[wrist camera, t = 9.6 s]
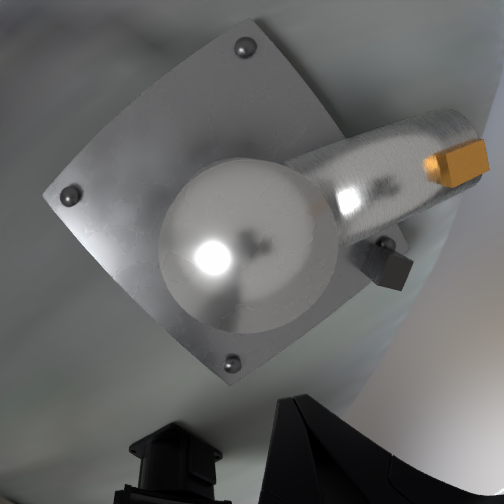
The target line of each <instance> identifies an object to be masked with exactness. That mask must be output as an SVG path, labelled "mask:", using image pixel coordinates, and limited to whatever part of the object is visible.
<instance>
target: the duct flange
mask: <svg viewBox="0 0 504 504" xmlns="http://www.w3.org/2000/svg"><path fill="white" fill-rule="evenodd" d="M344 139H346V138H345V136H344V135H343V134H342V132H341V131H340V129H339V128H338V126H337V125H336V123H335V122H334V120H333V119H332V118H331V116H330V115H329V113H328V112H327V111H326V109H325V108H324V107H323V105H322V104H321V102H320V101H319V100H318V98H317V97H316V96H315V94H314V93H313V92H312V90H311V89H310V88H309V86H308V85H307V84H306V83H305V81H304V80H303V79H302V77H301V76H300V75H299V74H298V72H297V71H296V70H295V69H294V67H293V66H292V65H291V64H290V63H289V61H288V60H287V59H286V58H285V56H284V55H283V54H282V53H281V52H280V51H279V49H278V48H277V47H276V46H275V45H274V44H273V42H272V41H271V40H270V39H269V38H268V37H267V36H266V34H265V33H264V32H263V31H262V30H261V29H260V28H259V27H258V26H257V25H256V23H255V22H254V21H253V20H252V19H251V18H248V19H246V20H245V21H243V22H241V23H240V24H238V25H236V26H235V27H233V28H231V29H230V30H228V31H227V32H225V33H224V34H222V35H220V36H219V37H217V38H216V39H214V40H213V41H211V42H210V43H208V44H207V45H205V46H204V47H202V48H201V49H199V50H198V51H197V52H195V53H194V54H192V55H191V56H189V57H188V58H187V59H185V60H184V61H183V62H181V63H180V64H179V65H177V66H176V67H174V68H173V69H172V70H171V71H169V72H168V73H167V74H165V75H164V76H163V77H162V78H160V79H159V80H158V81H157V82H155V83H154V84H153V85H152V86H150V87H149V88H148V89H147V90H146V91H144V92H143V93H142V94H141V95H140V96H138V97H137V98H136V99H135V100H134V101H133V102H131V103H130V104H129V105H128V106H127V107H126V108H125V109H124V110H122V111H121V112H120V113H119V114H118V115H117V116H116V117H115V118H114V119H113V120H112V121H111V122H109V123H108V124H107V125H106V126H105V127H104V128H103V129H102V130H101V131H100V132H99V133H98V134H97V135H96V136H95V137H94V138H93V139H92V140H91V141H90V142H89V143H88V144H87V145H86V146H85V147H84V148H83V149H82V150H81V151H80V152H79V154H78V155H77V156H76V157H75V158H74V159H73V160H72V161H71V162H70V163H69V164H68V165H67V167H66V168H65V169H64V170H63V171H62V172H61V173H60V174H59V176H58V177H57V178H56V179H55V180H54V181H53V183H52V184H51V185H50V186H49V187H48V189H47V190H46V191H45V192H44V193H43V195H42V196H43V197H44V198H45V200H46V201H47V202H48V204H49V205H50V206H51V207H52V209H53V210H54V211H55V212H56V214H57V215H58V216H59V217H60V218H61V220H62V221H63V222H64V223H65V224H66V226H67V227H68V228H69V229H70V230H71V232H72V233H73V234H74V235H75V236H76V237H77V239H78V240H79V241H80V242H81V243H82V244H83V246H84V247H85V248H86V249H87V250H88V251H89V252H90V253H91V255H92V256H93V257H94V258H95V259H96V260H97V261H98V262H99V263H100V264H101V266H102V267H103V268H104V269H105V270H106V271H107V272H108V273H109V274H110V275H111V276H112V277H113V278H114V279H115V281H116V282H117V283H118V284H119V285H120V286H121V287H122V288H123V289H124V290H125V291H126V292H127V293H128V294H129V295H130V296H131V297H132V298H133V299H134V300H135V301H136V302H137V303H138V304H139V305H140V306H141V307H142V308H143V309H144V310H145V311H146V312H147V313H148V314H149V315H150V316H151V317H152V318H153V319H154V320H155V321H156V322H158V323H159V324H160V325H161V326H162V327H163V328H164V329H165V330H166V331H167V332H168V333H169V334H170V335H171V336H172V337H174V338H175V339H176V340H177V341H178V342H179V343H180V344H181V345H182V346H183V347H185V348H186V349H187V350H188V351H189V352H190V353H191V354H192V355H194V356H195V357H196V358H197V359H198V360H199V361H201V362H202V363H203V364H204V365H205V366H206V367H207V368H209V369H210V370H211V371H212V372H213V373H215V374H216V375H217V376H218V377H219V378H221V379H222V380H223V381H224V382H225V383H227V384H228V385H229V386H230V385H232V384H234V383H235V382H237V381H238V380H240V379H241V378H243V377H244V376H246V375H247V374H249V373H250V372H252V371H253V370H255V369H256V368H258V367H259V366H261V365H262V364H263V363H265V362H266V361H268V360H269V359H271V358H272V357H274V356H275V355H276V354H278V353H279V352H281V351H282V350H283V349H285V348H286V347H288V346H289V345H290V344H292V343H293V342H295V341H296V340H297V339H299V338H300V337H301V336H303V335H304V334H305V333H307V332H308V331H309V330H311V329H312V328H313V327H315V326H316V325H317V324H319V323H320V322H321V321H323V320H324V319H325V318H327V317H328V316H329V315H330V314H332V313H333V312H334V311H336V310H337V309H338V308H339V307H341V306H342V305H343V304H344V303H346V302H347V301H348V300H349V299H351V298H352V297H353V296H354V295H356V294H357V293H358V292H359V291H360V290H362V289H363V288H364V287H365V286H367V285H368V284H369V283H370V282H371V281H373V282H374V283H375V284H376V285H378V286H382V287H386V288H390V289H394V290H398V291H402V289H403V286H404V284H405V282H406V279H407V277H408V275H409V272H410V270H411V267H412V265H413V261H412V260H410V259H408V258H407V257H405V256H403V254H404V253H405V252H406V251H407V250H408V249H409V248H410V247H409V245H408V244H407V242H406V240H405V238H404V236H403V234H402V232H401V230H400V228H399V226H398V224H395V225H393V226H391V227H389V228H386V229H384V230H382V231H380V232H378V233H376V234H374V235H371V236H369V237H367V238H365V239H363V240H361V241H358V242H356V243H354V244H352V245H350V246H347V247H345V248H343V249H341V250H339V251H338V255H337V261H336V265H335V269H334V272H333V274H332V277H331V279H330V281H329V283H328V285H327V287H326V288H325V290H324V292H323V293H322V294H321V296H320V297H319V298H318V300H317V301H316V302H315V303H314V304H313V305H312V306H311V307H310V308H309V309H308V310H307V311H306V312H304V313H303V314H302V315H301V316H299V317H297V318H296V319H294V320H293V321H291V322H289V323H287V324H285V325H283V326H281V327H278V328H275V329H272V330H268V331H264V332H258V333H232V332H226V331H222V330H218V329H215V328H212V327H210V326H207V325H205V324H204V323H202V322H200V321H198V320H197V319H195V318H194V317H192V316H191V315H189V314H188V313H187V312H186V311H185V310H184V309H183V308H182V307H181V306H180V305H179V304H178V303H177V302H176V300H175V299H174V298H173V296H172V295H171V293H170V291H169V290H168V288H167V286H166V284H165V281H164V279H163V276H162V273H161V269H160V264H159V257H158V243H159V236H160V231H161V227H162V223H163V220H164V218H165V216H166V213H167V211H168V209H169V208H170V206H171V204H172V203H173V201H174V199H175V198H176V197H177V195H178V194H179V192H180V191H181V189H182V188H183V187H184V185H185V184H186V183H187V181H188V180H189V179H190V178H191V177H192V176H193V175H194V174H195V173H196V172H197V171H198V170H200V169H201V168H203V167H204V166H206V165H208V164H210V163H212V162H215V161H217V160H220V159H225V158H232V157H243V158H251V159H258V160H264V161H269V162H274V163H278V164H281V165H282V163H283V162H285V161H287V160H290V159H292V158H295V157H298V156H300V155H303V154H306V153H308V152H311V151H314V150H316V149H319V148H322V147H325V146H327V145H330V144H333V143H336V142H339V141H341V140H344Z"/></svg>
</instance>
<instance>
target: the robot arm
mask: <svg viewBox="0 0 504 504" xmlns="http://www.w3.org/2000/svg"><path fill="white" fill-rule="evenodd" d="M129 452H130V453H131V454H133V455H135V456H136V457H138V458H140V459H141V465H140V473H139V482H138V488H136V487H132V485H127V484H125V488H124V490H120V491H115V496H114V503H113V504H232V502H231V501H228V500H224V501H217V500H215V498H214V485H215V484H216V471H215V462H217V461H219V460H221V459H222V458H223V455H222V453H221V452H220V451H218V450H216V449H214V448H213V447H211V446H209V445H208V444H206V443H205V442H203V441H201V440H200V439H198V438H197V437H195V436H193V435H192V434H190V433H189V432H187V431H186V430H184V429H183V428H181V427H180V426H178V425H176V424H170V425H168V426H166V427H164V428H162V429H161V430H159V431H157V432H155V433H153V434H152V435H150V436H148V437H146V438H144V439H142V440H140V441H139V442H137V443H135V444H133V445H131V446H130V447H129ZM261 489H262V490H261V492H260V497H259V502H258V504H504V495H493V496H484V495H477V494H473V493H470V492H467V491H464V490H461V489H459V488H457V487H454V486H452V485H449V484H447V483H445V482H443V481H440V480H438V479H436V478H433V477H431V476H429V475H427V474H425V473H423V472H421V471H419V470H417V469H415V468H414V467H412V466H410V465H409V464H407V463H405V462H403V461H402V460H400V459H398V458H397V457H396V456H394V455H393V456H392V454H391V453H389V452H388V451H386V450H385V449H383V448H382V447H380V446H378V445H377V444H376V443H374V442H373V441H372V440H370V439H369V438H367V437H366V436H364V435H363V434H361V433H360V432H358V431H357V430H356V429H354V428H353V427H351V426H350V425H349V424H347V423H346V422H344V421H343V420H341V419H340V418H339V417H337V416H336V415H335V414H333V413H332V412H330V411H329V410H328V409H326V408H325V407H324V406H322V405H321V404H320V403H318V402H317V401H316V400H314V399H313V398H312V397H310V396H309V395H307V394H303V395H298V396H294V397H293V398H291V397H287V398H282V399H278V401H277V405H276V411H275V417H274V423H273V429H272V435H271V440H270V446H269V451H268V457H267V462H266V468H265V473H264V478H263V483H262V488H261Z"/></svg>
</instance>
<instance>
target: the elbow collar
mask: <svg viewBox="0 0 504 504" xmlns="http://www.w3.org/2000/svg"><path fill="white" fill-rule="evenodd" d="M487 171H489V163H488V158H487V153H486V148H485V143H484V139H479V137H478V135H477V133H476V131H475V130H474V128H473V127H472V125H471V124H470V123H469V122H468V120H467V119H466V118H465V117H464V116H462V115H461V114H460V113H458V112H456V111H454V110H452V109H447V108H443V109H439V110H435V111H432V112H428V113H425V114H422V115H418V116H415V117H412V118H408V119H405V120H402V121H399V122H395V123H392V124H389V125H386V126H383V127H380V128H377V129H374V130H371V131H368V132H365V133H362V134H359V135H356V136H353V137H350V138H347V139H344V140H341V141H339V142H336V143H333V144H330V145H327V146H325V147H322V148H319V149H316V150H314V151H311V152H308V153H306V154H303V155H300V156H298V157H295V158H292V159H290V160H287V161H285V162H283V163H282V165H281V164H278V163H274V162H269V161H264V160H258V159H251V158H243V157H232V158H225V159H220V160H217V161H215V162H212V163H210V164H208V165H206V166H204V167H203V168H201V169H200V170H198V171H197V172H196V173H195V174H194V175H193V176H192V177H191V178H190V179H189V180H188V181H187V183H186V184H185V185H184V187H183V188H182V189H181V191H180V192H179V194H178V195H177V197H176V198H175V199H174V201H173V203H172V204H171V206H170V208H169V209H168V211H167V213H166V216H165V218H164V220H163V223H162V227H161V231H160V236H159V243H158V257H159V264H160V269H161V273H162V276H163V279H164V281H165V284H166V286H167V288H168V290H169V291H170V293H171V295H172V296H173V298H174V299H175V300H176V302H177V303H178V304H179V305H180V306H181V307H182V308H183V309H184V310H185V311H186V312H187V313H188V314H189V315H191V316H192V317H194V318H195V319H197V320H198V321H200V322H202V323H204V324H205V325H207V326H210V327H212V328H215V329H218V330H222V331H226V332H232V333H258V332H264V331H268V330H272V329H275V328H278V327H281V326H283V325H285V324H287V323H289V322H291V321H293V320H294V319H296V318H297V317H299V316H301V315H302V314H303V313H304V312H306V311H307V310H308V309H309V308H310V307H311V306H312V305H313V304H314V303H315V302H316V301H317V300H318V298H319V297H320V296H321V294H322V293H323V292H324V290H325V288H326V287H327V285H328V283H329V281H330V279H331V277H332V274H333V272H334V269H335V265H336V261H337V255H338V251H339V250H341V249H343V248H345V247H347V246H350V245H352V244H354V243H356V242H358V241H361V240H363V239H365V238H367V237H369V236H371V235H374V234H376V233H378V232H380V231H382V230H384V229H386V228H389V227H391V226H393V225H395V224H397V223H399V222H401V221H403V220H406V219H408V218H410V217H412V216H414V215H416V214H418V213H420V212H422V211H424V210H426V209H428V208H430V207H433V206H435V205H437V204H439V203H441V202H443V201H445V200H447V199H449V198H451V197H453V196H455V195H457V194H459V193H461V192H463V191H465V190H467V189H469V188H471V187H473V186H475V185H476V184H477V183H478V182H479V181H480V179H481V177H482V174H483V173H485V172H487Z"/></svg>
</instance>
